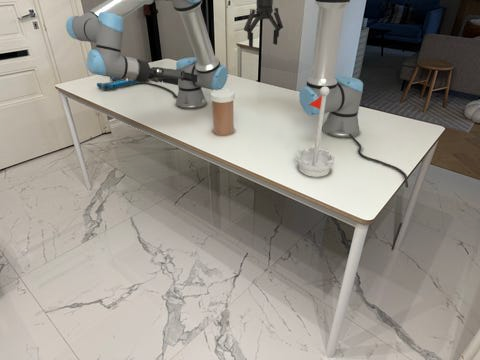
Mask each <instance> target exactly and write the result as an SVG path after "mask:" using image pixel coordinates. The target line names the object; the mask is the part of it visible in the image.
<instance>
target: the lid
mask: <svg viewBox="0 0 480 360" xmlns="http://www.w3.org/2000/svg"><path fill="white" fill-rule="evenodd" d="M209 98H210V100H211V102H212V101H214V102H219V103H225V102H230V101H233V102H234V100H235V99H236V95H235V91H233V90H231V89H226V88H225V89H223V88H222V89H221V90H212V91H211V92H210V97H209Z"/></svg>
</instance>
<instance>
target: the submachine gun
mask: <svg viewBox="0 0 480 360" xmlns="http://www.w3.org/2000/svg"><path fill="white" fill-rule="evenodd" d="M109 79H110V80H111V81H110V82H103V83H102V82H96V87H97V88H99V89H100V90H101V91H105V90H112V89H113V90H117V88H120V87H121V88H122V87H126V86H130V85H135V84H141V83H140V82H137V81H132V80H128V82H127V81H126V79H120V78H113V77H109ZM146 82H149V80H147V81H146Z"/></svg>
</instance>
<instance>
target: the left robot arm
mask: <svg viewBox="0 0 480 360" xmlns="http://www.w3.org/2000/svg"><path fill="white" fill-rule="evenodd" d="M160 1H161V0H105V1H103V2H102V3H100V4H99V5H97V6H95V7H93V8H92V9H90V10H89V11H87V12H85V13H83V14H82V15H80V16H79V15H74V16H73V15H72V16H70V17H69V18H68V19H67V20H66V22H65V29H66V32H67V34H68V36H69V37H70V38H72V39H73V40H77V41H79V42H89V43H95V44H96V45H95V49H90V50H89V51H88V53H87V57H86V68H87V70H88V71H89V73H91V74H94V75H97V76H103V77H108V78H110V77H113V78H120V79H122V80H123V79H126V81H127V82H128V80H132V81H137V82H140V83H139V84H145V85H150V86H152V87H153V86H154V87H157V88H161V89H164V90H166V91H168V92H169V93H171V94H172V96H173V97H174V98H176V101H175V102H176V106H177V107H178V108H180V109H184V110H197V109H201V108H203V107H204V106H206V105H207V99H206V97H205V95H204V92H203V89H202V88H204V89H207V90H212V91H215V90H221V89H223V88H224V87H225V85H226V83H227V80H228V76H229V72H228V68H227V66H225V65H223V64H221V62H220V58H219V57H218V56H216V55H215V53H214V48H213V45H212V42H211V40H210V37H209V32H208V30H207V25H206V22H205V19H204V16H203V12H202V9H201V5H202V4H203V0H165V1H167V2H171V5H172V7H173V9H174V11H175V12H177V13H179V14H180V17H181V21H182V24H183V27H184V29H185V32H186V34H187V38H188V40H189V43H190V46H191V49H192V52H193V55H194V56H192V57H191V56H190V57H184V58H180V59H178V60H177V61H176V64H175V66H176V69H173V68H165V67H160V66H152V67H150V64H149V62H148V61H147V60H144V59H143V60H142V59H140V58H139V59H138V58H137V59H136V58H135V57H131V56H126V55H121V53H122V52H121V51H122V50H121V49H122V43H123V32H124V19H125V18H127V17H128V16H129V15H131V14H133V13H134V12H135V11H137V10H139V9H140V8H141V7H144V6H145V5H152V4H153V3H156V2H160ZM147 80H148V81H147ZM149 81H151V82H149ZM152 82H154V83H152ZM157 83H163V84H169V85H174V86H177V87H178V92H177V95H176V93H175V91H173V90H171V89H170V88H167V87H165V86H162V85H159V84H157Z"/></svg>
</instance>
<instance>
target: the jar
mask: <svg viewBox="0 0 480 360" xmlns="http://www.w3.org/2000/svg"><path fill="white" fill-rule="evenodd" d="M211 106H212V125H213V126H212V127H213V129H212V130H213V133H214V134H215V135H217V136H228V135H229V136H230V135H232V134H233V133H234V131H235V124H234V123H235V121H234V120H235V119H234V118H235V117H234V115H235V113H234V112H235V111H234V100H233V101H230V102H225V103H219V102H214V101H212V100H211Z"/></svg>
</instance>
